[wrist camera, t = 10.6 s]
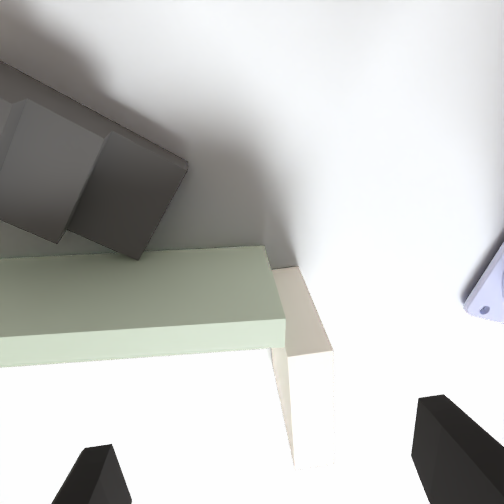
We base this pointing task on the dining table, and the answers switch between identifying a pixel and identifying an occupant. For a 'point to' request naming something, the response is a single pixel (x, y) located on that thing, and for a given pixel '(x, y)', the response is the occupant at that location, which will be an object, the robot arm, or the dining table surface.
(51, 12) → the dining table surface
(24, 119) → the grey stepped block
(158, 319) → the door
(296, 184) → the dining table surface
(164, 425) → the dining table surface
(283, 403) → the rectangular block
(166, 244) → the dining table surface
